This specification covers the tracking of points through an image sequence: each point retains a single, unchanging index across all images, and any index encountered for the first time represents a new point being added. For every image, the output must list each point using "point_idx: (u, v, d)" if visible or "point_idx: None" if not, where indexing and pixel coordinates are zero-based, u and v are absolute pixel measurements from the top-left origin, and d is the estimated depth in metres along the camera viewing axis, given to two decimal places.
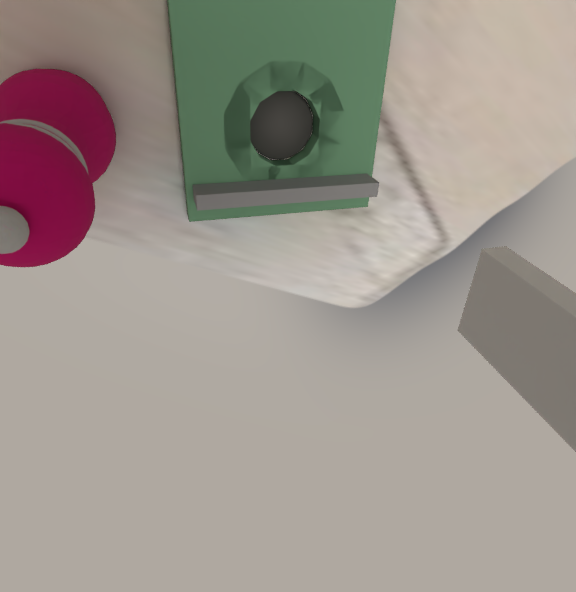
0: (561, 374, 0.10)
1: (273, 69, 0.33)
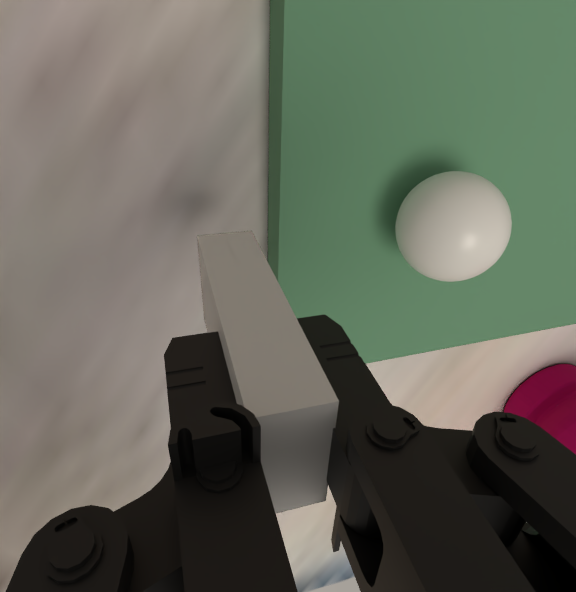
0: None
1: None
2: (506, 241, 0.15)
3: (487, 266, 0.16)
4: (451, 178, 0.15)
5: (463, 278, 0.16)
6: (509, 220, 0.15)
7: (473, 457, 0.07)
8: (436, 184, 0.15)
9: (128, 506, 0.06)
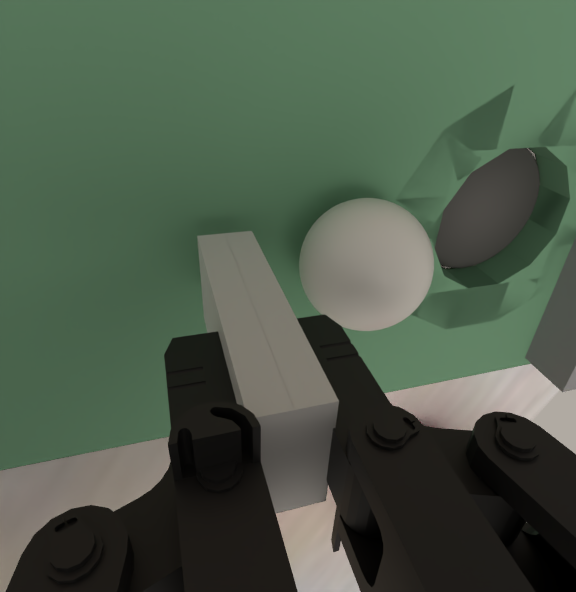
0: None
1: None
2: (301, 267, 0.13)
3: None
4: None
5: None
6: (310, 250, 0.13)
7: (473, 457, 0.07)
8: None
9: (128, 506, 0.06)
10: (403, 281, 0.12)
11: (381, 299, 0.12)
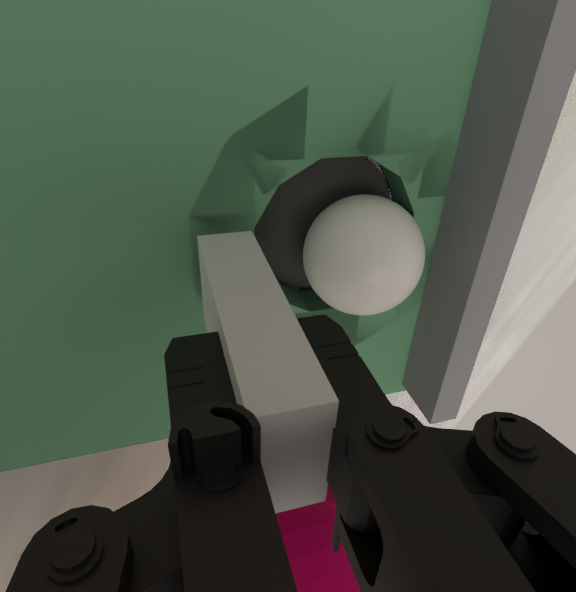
0: None
1: None
2: None
3: None
4: (386, 218, 0.13)
5: None
6: None
7: (473, 457, 0.07)
8: (394, 233, 0.13)
9: (128, 506, 0.06)
10: (309, 229, 0.15)
11: None
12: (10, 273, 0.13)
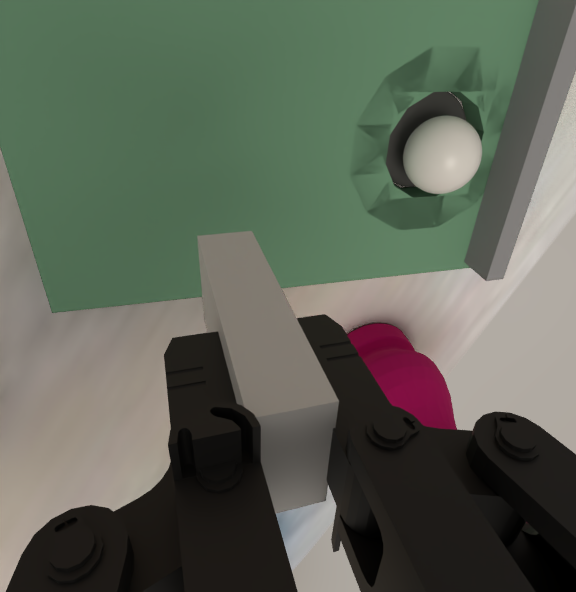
0: None
1: (359, 169, 0.24)
2: None
3: None
4: (455, 125, 0.23)
5: None
6: None
7: (473, 457, 0.07)
8: (457, 133, 0.22)
9: (128, 506, 0.06)
10: None
11: None
12: (256, 154, 0.22)
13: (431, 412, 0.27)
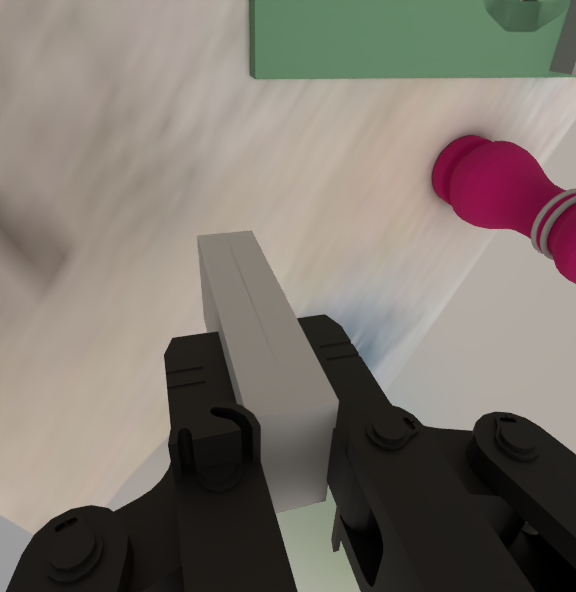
0: None
1: None
2: None
3: None
4: None
5: None
6: None
7: (472, 457, 0.07)
8: None
9: (128, 506, 0.06)
10: None
11: None
12: None
13: (534, 170, 0.35)
